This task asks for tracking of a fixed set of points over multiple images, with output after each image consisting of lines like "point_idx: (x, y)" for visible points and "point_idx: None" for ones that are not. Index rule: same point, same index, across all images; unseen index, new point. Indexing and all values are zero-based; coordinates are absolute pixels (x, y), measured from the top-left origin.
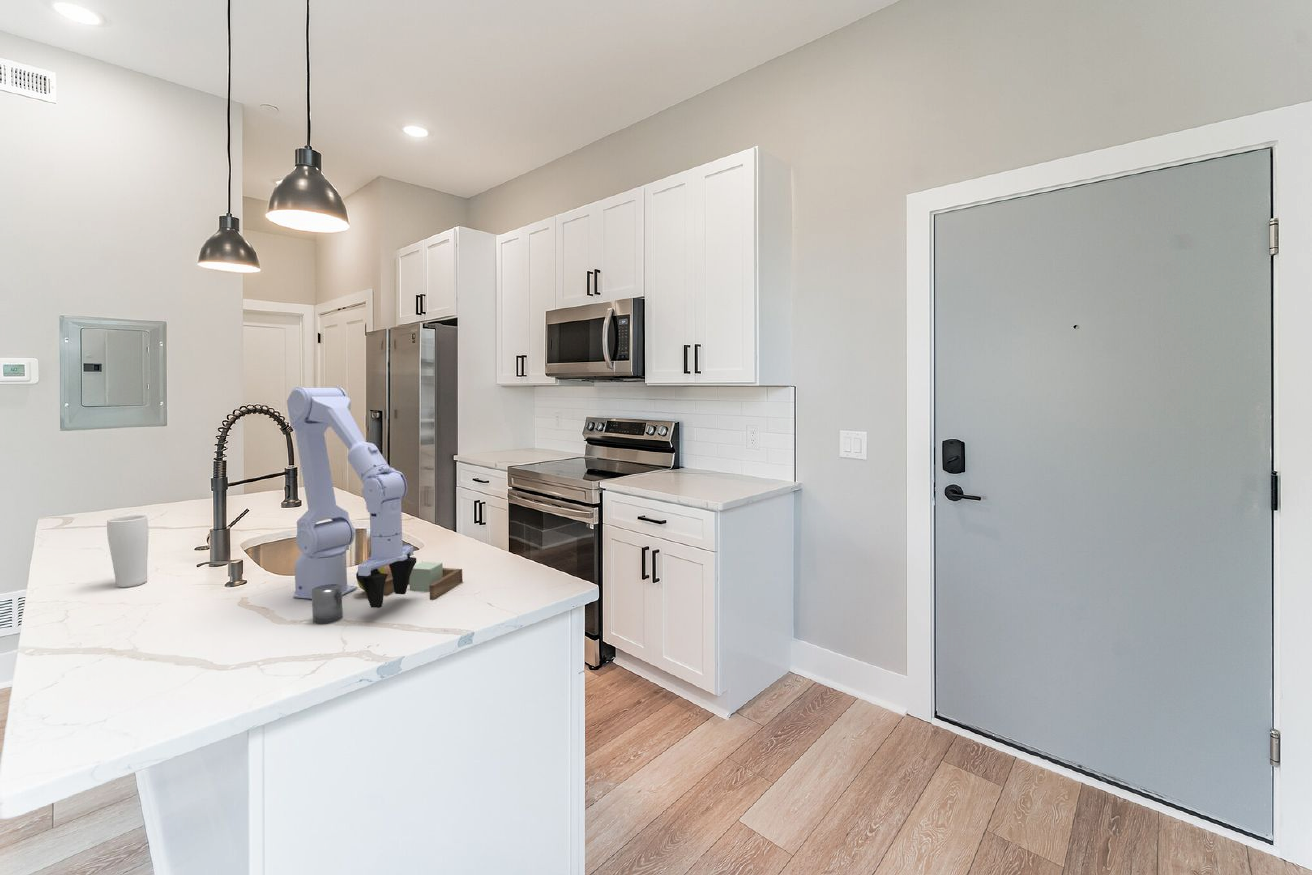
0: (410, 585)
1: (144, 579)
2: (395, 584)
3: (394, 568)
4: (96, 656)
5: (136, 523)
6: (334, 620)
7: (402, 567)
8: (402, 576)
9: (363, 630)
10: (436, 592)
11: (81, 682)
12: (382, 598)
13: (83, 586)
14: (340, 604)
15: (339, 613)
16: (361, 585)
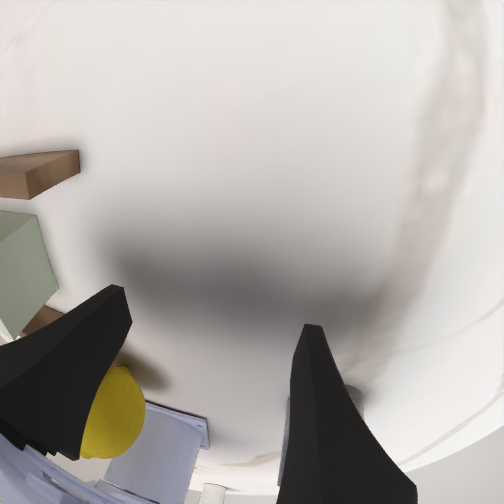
0: (48, 295)
1: (211, 487)
2: (110, 352)
3: (74, 419)
4: None
5: None
6: (352, 390)
7: (45, 401)
8: (73, 360)
9: (452, 290)
10: (45, 158)
11: (457, 446)
12: (317, 357)
13: (228, 490)
14: None
15: None
16: (145, 410)
